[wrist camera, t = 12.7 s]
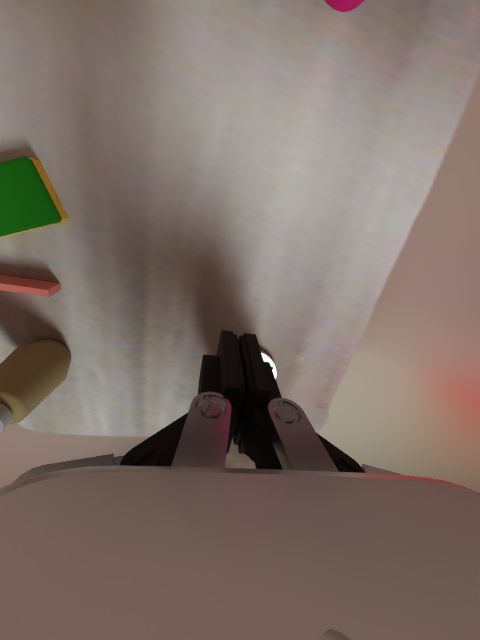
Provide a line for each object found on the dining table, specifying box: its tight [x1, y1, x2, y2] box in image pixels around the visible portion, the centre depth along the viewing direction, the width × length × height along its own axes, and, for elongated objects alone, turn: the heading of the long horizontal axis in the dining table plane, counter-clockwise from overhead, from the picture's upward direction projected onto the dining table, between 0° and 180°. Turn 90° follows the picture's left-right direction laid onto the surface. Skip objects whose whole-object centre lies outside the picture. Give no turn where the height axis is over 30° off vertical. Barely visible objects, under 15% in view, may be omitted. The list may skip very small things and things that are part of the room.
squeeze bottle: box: [0, 339, 71, 433], centre depth 33 cm, size 8×8×18 cm
